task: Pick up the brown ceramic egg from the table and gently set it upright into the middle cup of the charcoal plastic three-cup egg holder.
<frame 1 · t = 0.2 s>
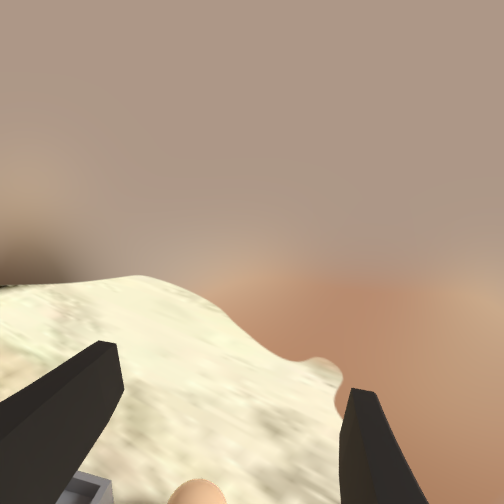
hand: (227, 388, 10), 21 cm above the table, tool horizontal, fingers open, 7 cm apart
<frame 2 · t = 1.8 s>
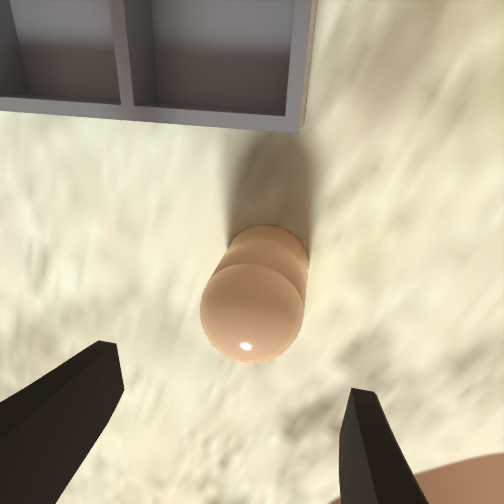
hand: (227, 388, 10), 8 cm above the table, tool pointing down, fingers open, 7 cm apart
egg holder: (90, 24, 14), on the table
egg: (267, 263, 17), on the table
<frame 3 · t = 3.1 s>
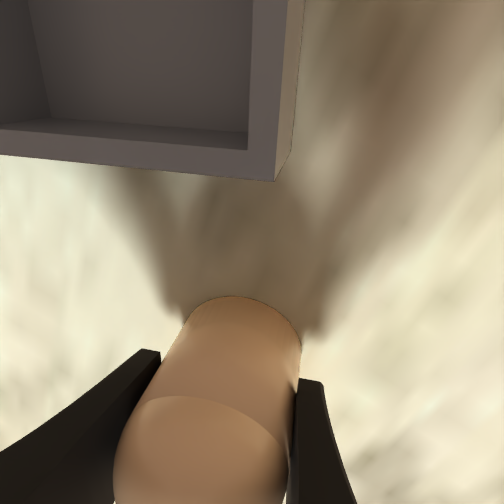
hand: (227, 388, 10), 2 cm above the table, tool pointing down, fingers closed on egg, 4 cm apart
egg: (240, 346, 12), on the table, touching gripper
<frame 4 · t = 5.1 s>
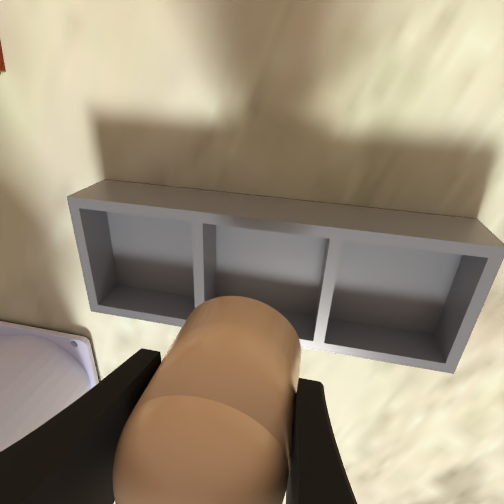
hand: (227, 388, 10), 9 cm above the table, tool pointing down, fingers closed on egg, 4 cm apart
egg holder: (270, 255, 18), on the table
egg: (240, 346, 12), point 7 cm above the table, touching gripper
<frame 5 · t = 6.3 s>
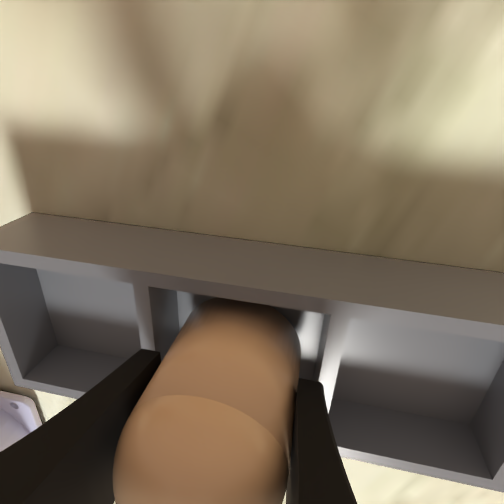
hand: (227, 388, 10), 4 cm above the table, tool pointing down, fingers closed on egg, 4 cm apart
egg holder: (252, 313, 14), on the table
egg: (240, 346, 12), point 2 cm above the table, touching gripper
when the fingers open (4 cm above the table, at t = 7.1 s): egg stays where it is, resting on egg holder.
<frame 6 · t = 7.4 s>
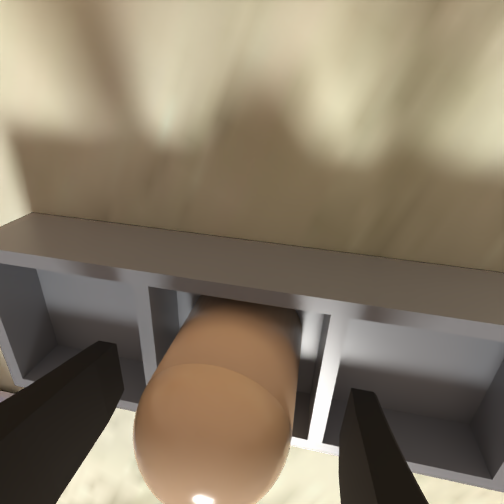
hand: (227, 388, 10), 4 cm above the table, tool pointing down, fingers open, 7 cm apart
egg holder: (251, 313, 14), on the table
egg: (245, 328, 13), point 1 cm above the table, touching egg holder
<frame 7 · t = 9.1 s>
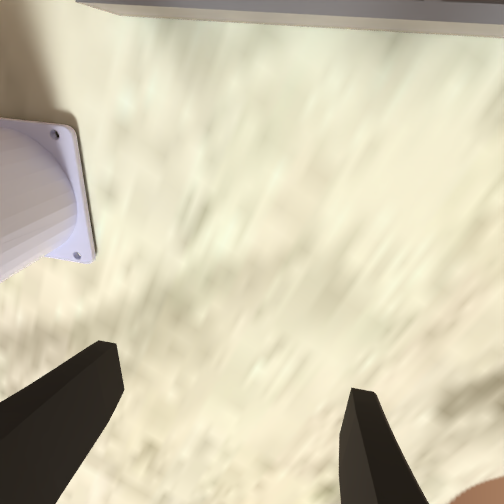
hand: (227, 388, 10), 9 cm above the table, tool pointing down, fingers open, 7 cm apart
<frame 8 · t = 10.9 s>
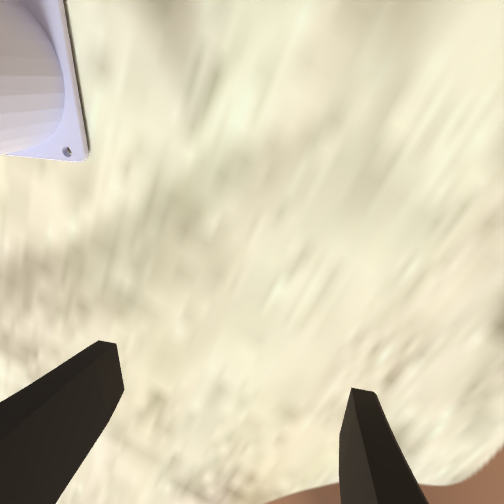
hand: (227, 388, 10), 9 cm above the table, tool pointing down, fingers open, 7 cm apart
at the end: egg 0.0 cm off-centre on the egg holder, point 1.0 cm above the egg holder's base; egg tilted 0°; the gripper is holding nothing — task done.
